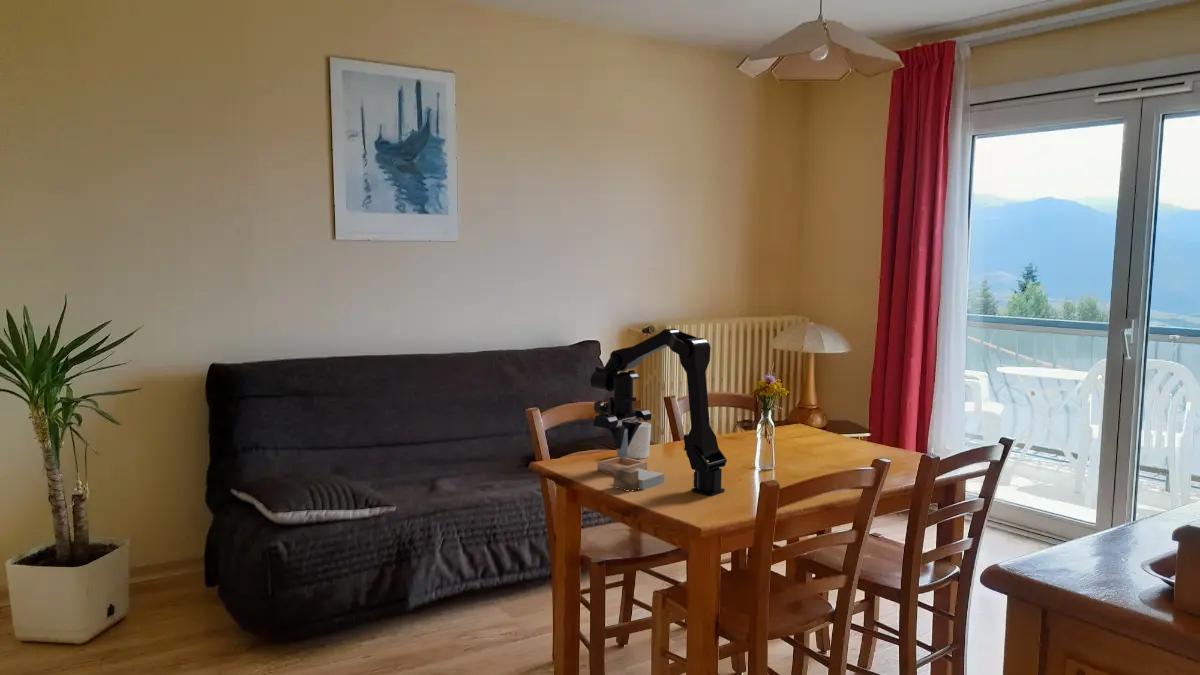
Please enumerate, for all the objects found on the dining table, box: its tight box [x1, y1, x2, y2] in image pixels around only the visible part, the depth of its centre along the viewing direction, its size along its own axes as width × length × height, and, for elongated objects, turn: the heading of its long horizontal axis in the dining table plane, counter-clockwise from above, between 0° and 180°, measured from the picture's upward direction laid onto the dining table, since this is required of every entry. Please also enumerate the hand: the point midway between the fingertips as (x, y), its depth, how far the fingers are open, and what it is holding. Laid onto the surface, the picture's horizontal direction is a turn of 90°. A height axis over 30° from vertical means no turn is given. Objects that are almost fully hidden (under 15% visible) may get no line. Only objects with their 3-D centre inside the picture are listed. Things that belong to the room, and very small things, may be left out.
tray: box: [597, 457, 648, 475], centre depth 233 cm, size 10×10×2 cm
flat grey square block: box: [634, 468, 665, 491], centre depth 219 cm, size 9×9×3 cm
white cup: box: [627, 421, 652, 460], centre depth 250 cm, size 8×8×10 cm
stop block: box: [613, 467, 639, 492], centre depth 215 cm, size 6×3×5 cm, turn 46°
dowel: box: [616, 428, 629, 458], centre depth 232 cm, size 3×3×8 cm
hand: (622, 447), depth 232 cm, fingers closed on dowel, 3 cm apart
